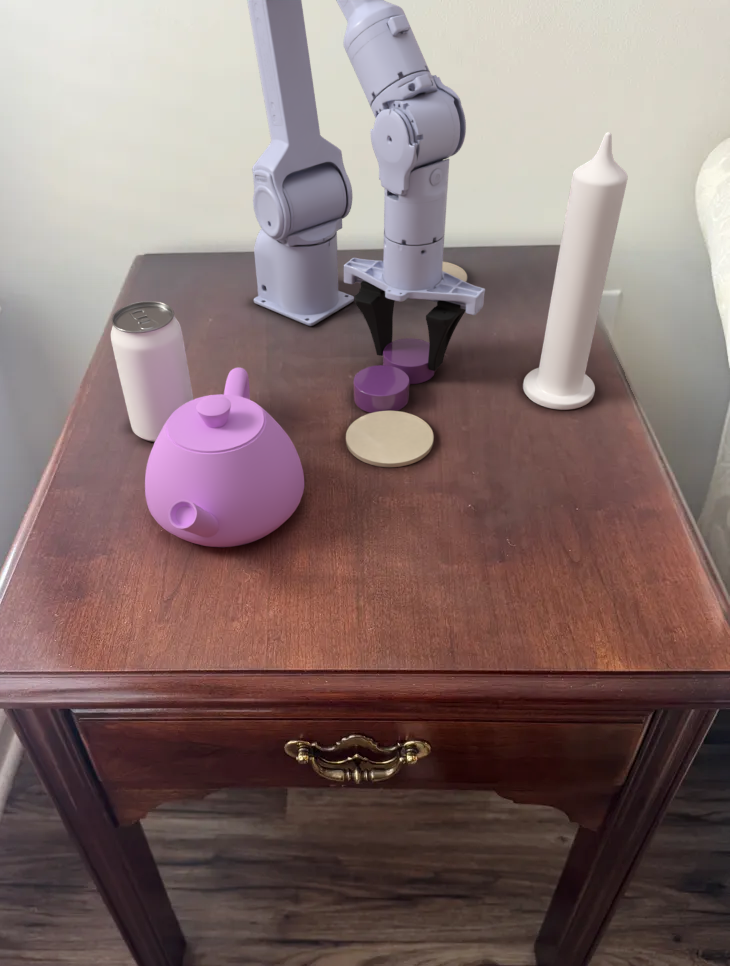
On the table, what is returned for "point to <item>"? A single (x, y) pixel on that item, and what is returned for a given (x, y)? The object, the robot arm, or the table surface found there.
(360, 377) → the purple puck
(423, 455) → the coaster near
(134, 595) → the table surface
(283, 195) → the robot arm
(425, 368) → the purple round puck
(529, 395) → the candle
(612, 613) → the table surface
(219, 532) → the teapot
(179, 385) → the can
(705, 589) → the table surface
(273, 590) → the table surface
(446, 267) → the coaster far
